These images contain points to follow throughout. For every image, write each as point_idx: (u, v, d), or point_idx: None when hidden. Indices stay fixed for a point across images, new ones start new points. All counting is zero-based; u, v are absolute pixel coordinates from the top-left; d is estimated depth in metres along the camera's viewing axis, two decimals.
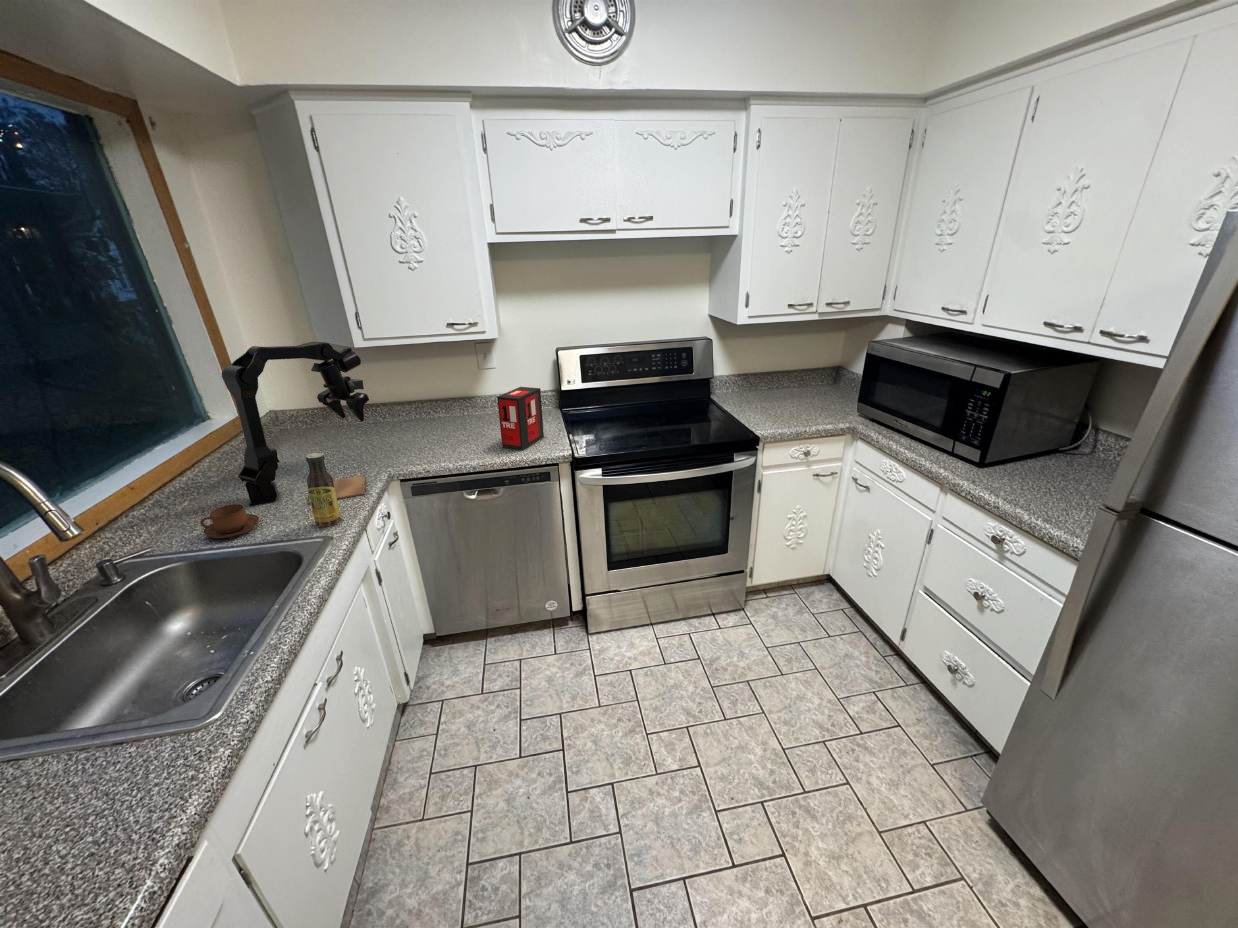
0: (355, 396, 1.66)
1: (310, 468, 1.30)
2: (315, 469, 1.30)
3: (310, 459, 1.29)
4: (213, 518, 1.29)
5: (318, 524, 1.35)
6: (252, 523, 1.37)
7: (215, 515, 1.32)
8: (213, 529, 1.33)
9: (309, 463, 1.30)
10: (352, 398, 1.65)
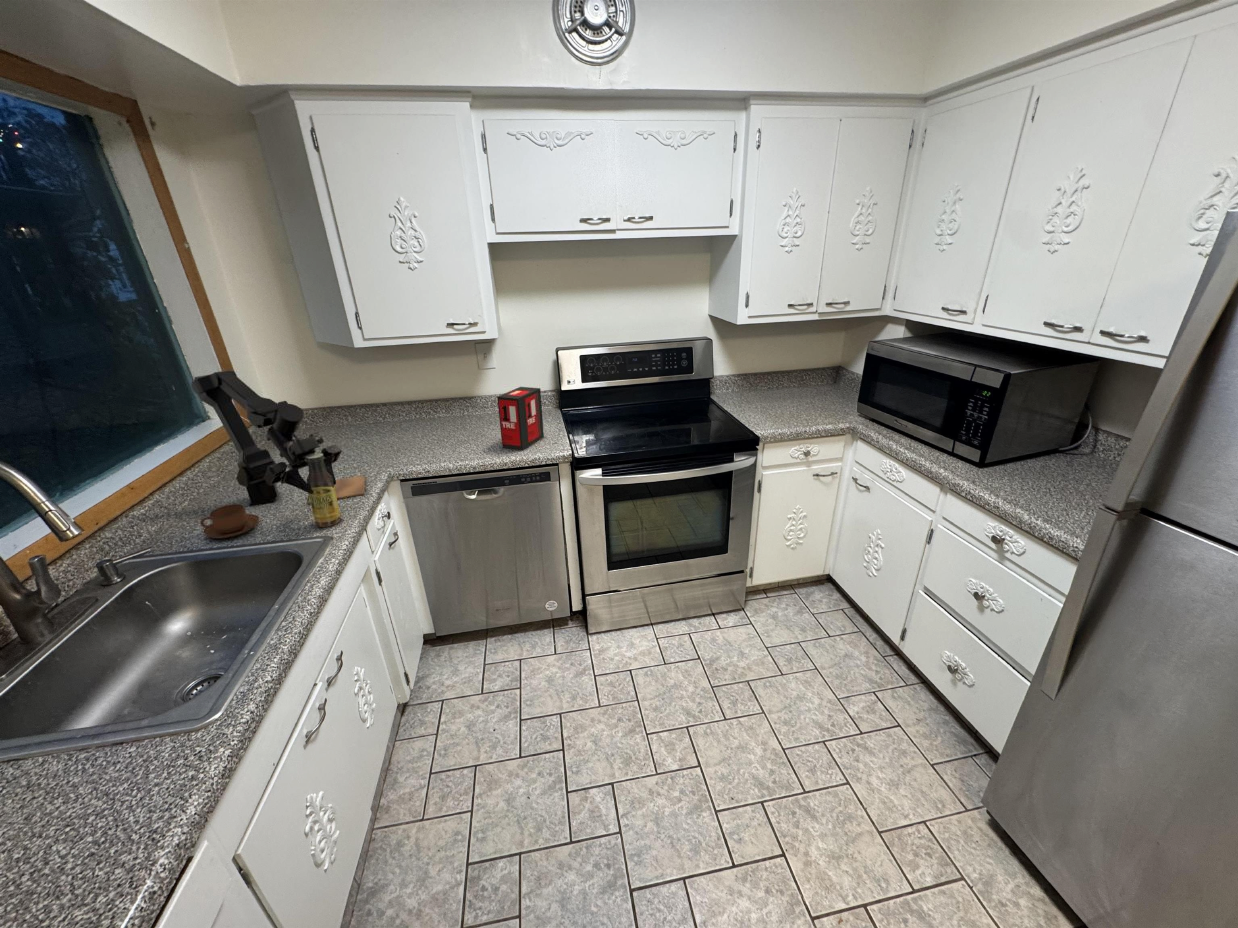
0: None
1: (310, 468, 1.30)
2: (314, 469, 1.30)
3: (310, 459, 1.29)
4: (213, 518, 1.29)
5: (318, 524, 1.35)
6: (252, 523, 1.37)
7: (215, 515, 1.32)
8: (213, 529, 1.33)
9: (309, 463, 1.30)
10: None
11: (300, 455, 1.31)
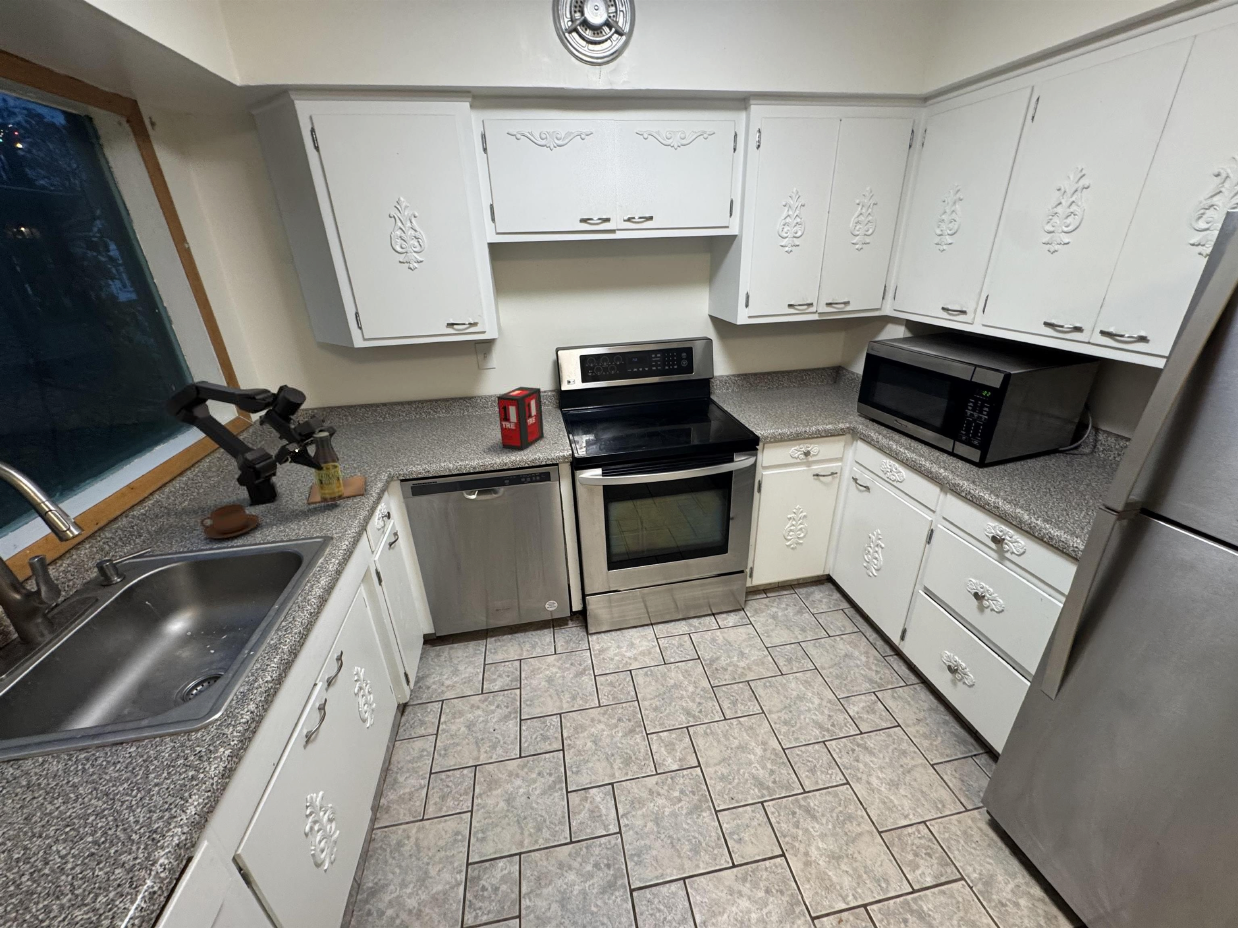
0: None
1: (318, 446, 1.39)
2: (323, 446, 1.39)
3: (319, 437, 1.38)
4: (213, 518, 1.29)
5: (326, 500, 1.44)
6: (252, 523, 1.37)
7: (215, 515, 1.32)
8: (213, 529, 1.33)
9: (317, 441, 1.39)
10: None
11: (304, 435, 1.39)
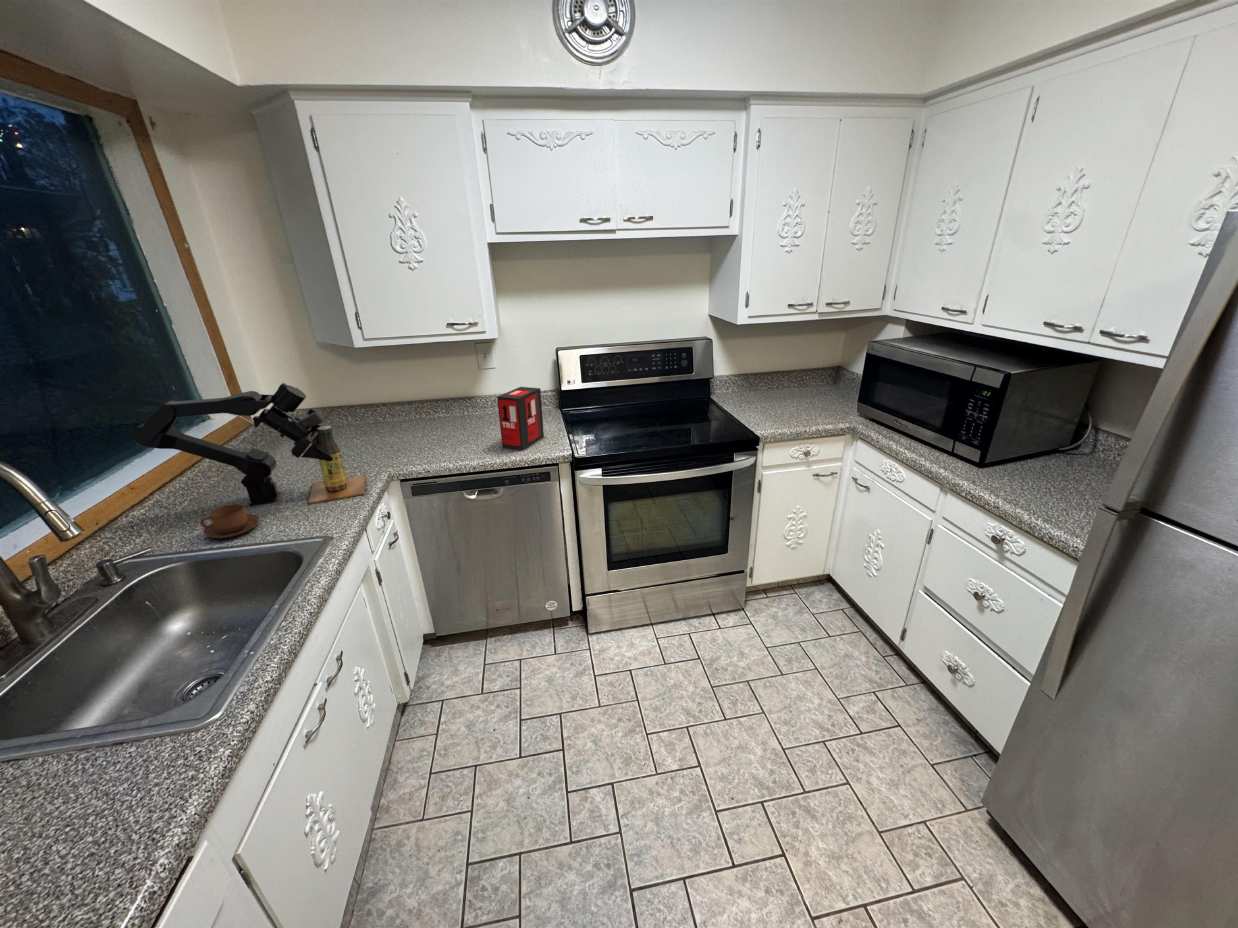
0: (295, 444, 1.42)
1: (325, 439, 1.50)
2: (329, 438, 1.51)
3: (326, 430, 1.49)
4: (213, 518, 1.29)
5: (335, 489, 1.54)
6: (252, 523, 1.37)
7: (215, 515, 1.32)
8: (213, 529, 1.33)
9: (324, 434, 1.49)
10: None
11: (308, 429, 1.48)
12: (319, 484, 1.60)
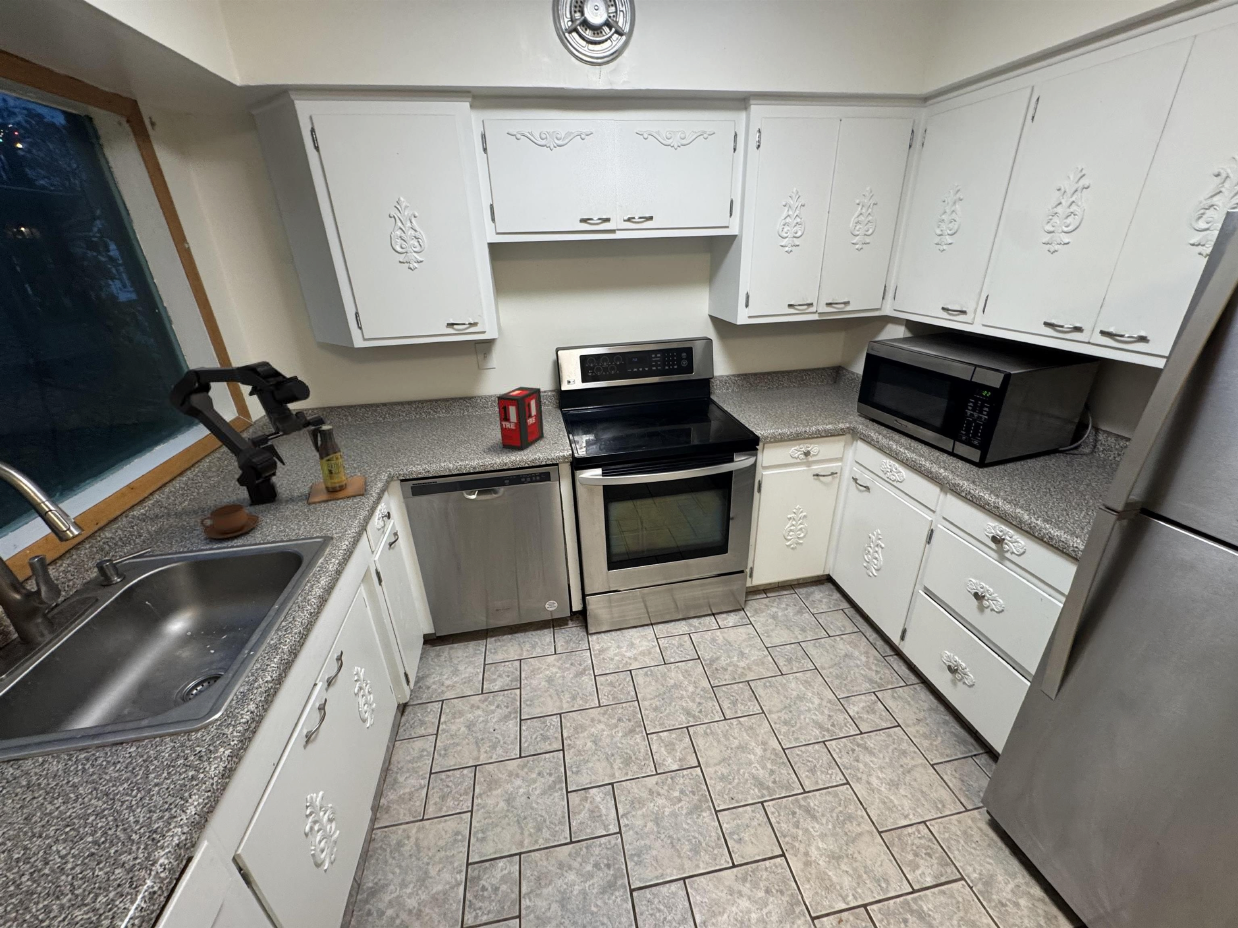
0: (253, 436, 1.37)
1: (325, 439, 1.50)
2: (330, 438, 1.51)
3: (327, 430, 1.49)
4: (213, 518, 1.29)
5: (335, 489, 1.54)
6: (252, 523, 1.37)
7: (215, 515, 1.32)
8: (213, 529, 1.33)
9: (325, 434, 1.49)
10: (253, 436, 1.38)
11: None
12: (319, 484, 1.60)
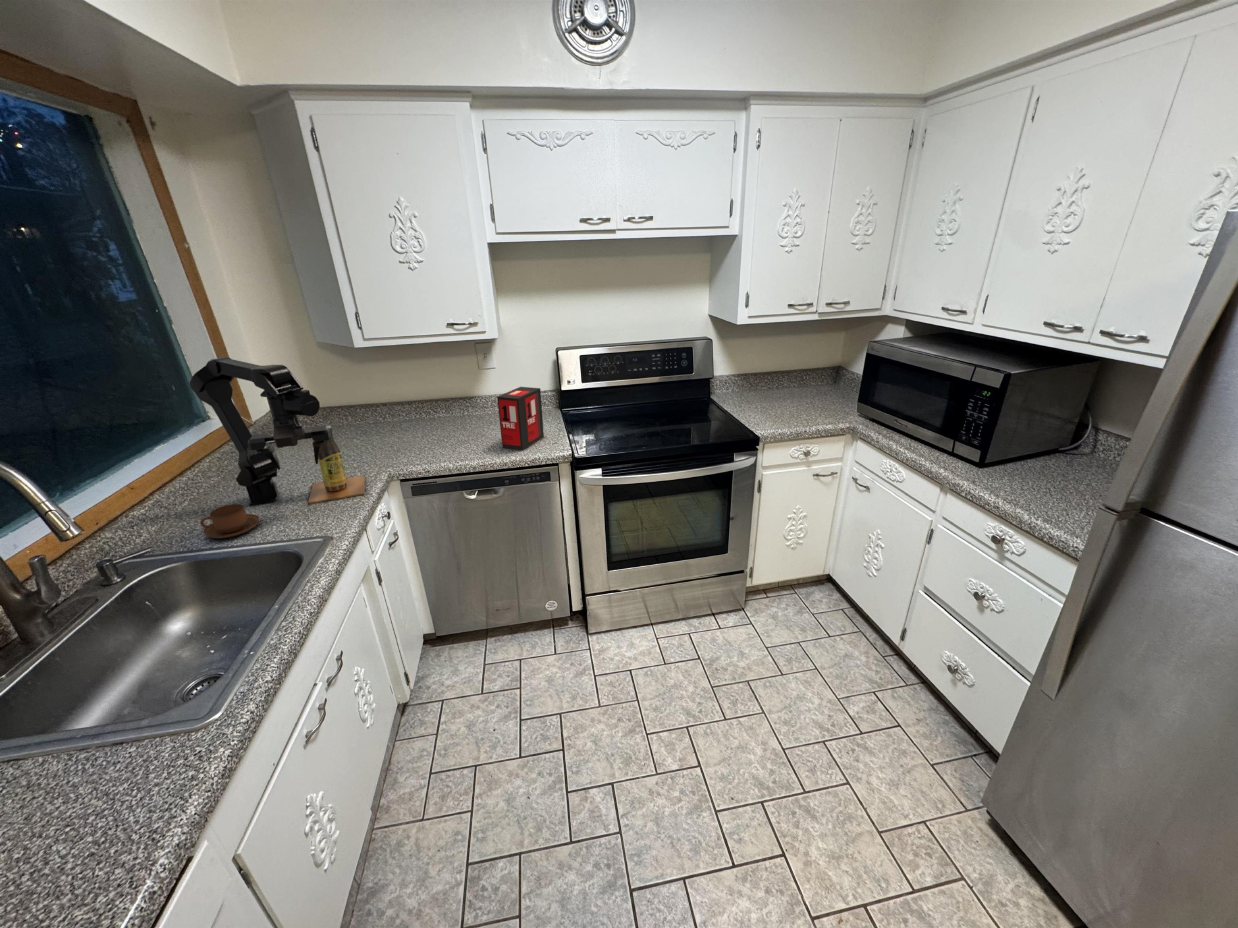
0: (255, 436, 1.35)
1: None
2: None
3: None
4: (213, 518, 1.29)
5: (335, 489, 1.54)
6: (252, 523, 1.37)
7: (215, 515, 1.32)
8: (213, 529, 1.33)
9: None
10: (257, 434, 1.36)
11: None
12: (319, 484, 1.60)
